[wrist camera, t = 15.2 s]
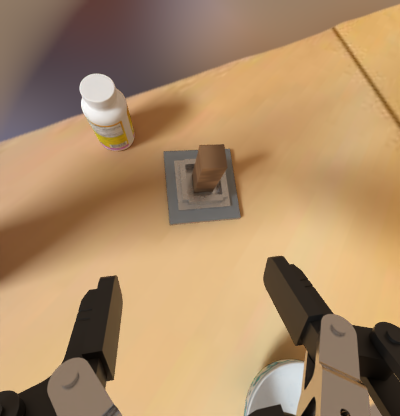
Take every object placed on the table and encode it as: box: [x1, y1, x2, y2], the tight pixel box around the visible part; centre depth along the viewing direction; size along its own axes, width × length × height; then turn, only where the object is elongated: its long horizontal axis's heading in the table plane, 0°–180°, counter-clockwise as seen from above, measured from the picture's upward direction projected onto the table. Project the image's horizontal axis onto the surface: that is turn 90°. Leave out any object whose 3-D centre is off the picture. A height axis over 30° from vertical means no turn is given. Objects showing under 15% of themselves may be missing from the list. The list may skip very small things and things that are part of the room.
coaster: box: [164, 149, 241, 225], centre depth 43 cm, size 13×14×1 cm
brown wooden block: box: [192, 144, 228, 193], centre depth 37 cm, size 4×4×11 cm
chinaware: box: [244, 359, 304, 416], centre depth 33 cm, size 15×15×8 cm
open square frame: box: [174, 159, 231, 211], centre depth 42 cm, size 10×10×3 cm
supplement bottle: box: [80, 74, 135, 151], centre depth 38 cm, size 7×7×13 cm
